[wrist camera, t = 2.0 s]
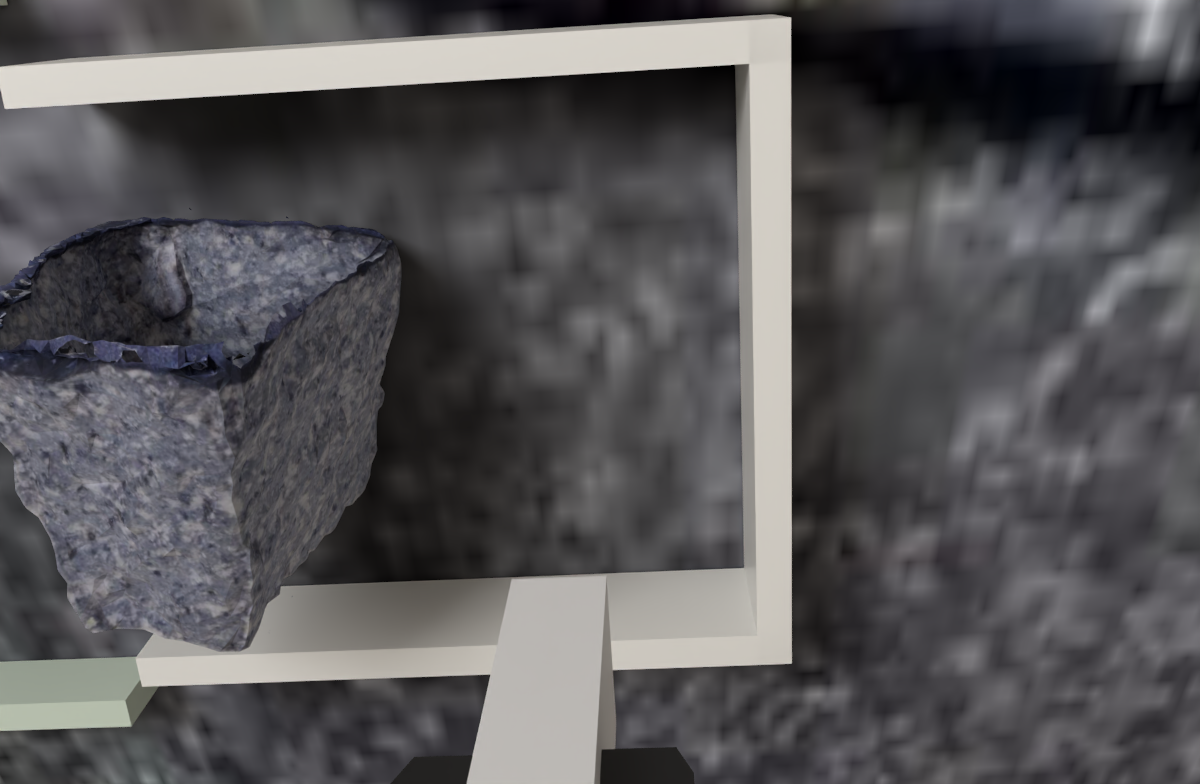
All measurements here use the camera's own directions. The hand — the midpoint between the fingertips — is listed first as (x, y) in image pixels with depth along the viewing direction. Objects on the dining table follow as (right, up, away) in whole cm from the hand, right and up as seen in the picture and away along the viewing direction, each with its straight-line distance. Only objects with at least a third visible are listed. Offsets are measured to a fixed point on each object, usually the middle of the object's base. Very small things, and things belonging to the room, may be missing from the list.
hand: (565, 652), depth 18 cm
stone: (-10, +5, +16) cm, 20 cm away
